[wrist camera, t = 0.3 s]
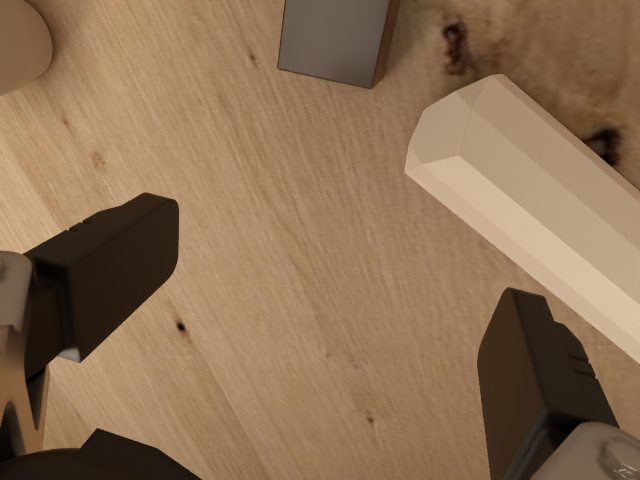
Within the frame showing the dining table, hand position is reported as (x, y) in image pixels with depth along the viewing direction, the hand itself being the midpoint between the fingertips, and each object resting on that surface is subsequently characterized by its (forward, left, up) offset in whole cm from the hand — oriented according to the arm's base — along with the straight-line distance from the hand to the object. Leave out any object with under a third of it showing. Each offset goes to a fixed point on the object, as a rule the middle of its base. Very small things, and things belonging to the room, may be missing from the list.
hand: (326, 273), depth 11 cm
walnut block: (-5, -4, -19) cm, 20 cm away
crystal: (+4, +12, -19) cm, 23 cm away
